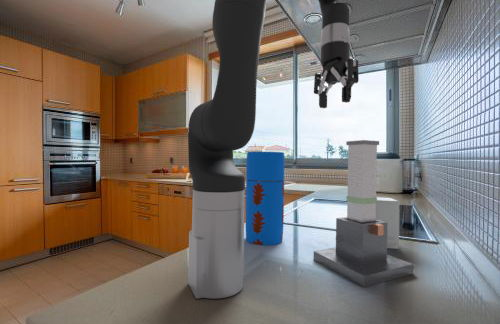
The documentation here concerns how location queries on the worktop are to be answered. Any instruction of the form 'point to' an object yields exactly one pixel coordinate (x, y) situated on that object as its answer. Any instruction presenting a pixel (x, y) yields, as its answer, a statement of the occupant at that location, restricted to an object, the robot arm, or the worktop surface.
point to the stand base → (362, 254)
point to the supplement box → (389, 219)
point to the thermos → (264, 197)
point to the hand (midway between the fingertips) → (333, 105)
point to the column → (362, 181)
